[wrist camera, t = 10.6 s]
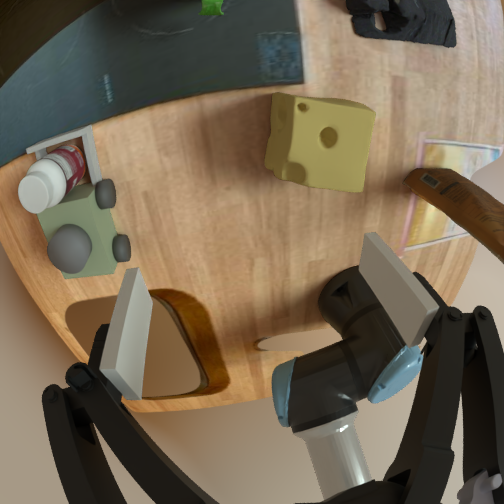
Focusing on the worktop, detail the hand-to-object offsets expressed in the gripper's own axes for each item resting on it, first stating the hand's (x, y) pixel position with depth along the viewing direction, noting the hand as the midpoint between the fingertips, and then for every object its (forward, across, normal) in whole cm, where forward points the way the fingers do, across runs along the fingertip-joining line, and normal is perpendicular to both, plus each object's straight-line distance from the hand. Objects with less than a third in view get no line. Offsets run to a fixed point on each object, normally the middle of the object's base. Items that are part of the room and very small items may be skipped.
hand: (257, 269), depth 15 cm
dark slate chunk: (+25, -29, -25) cm, 46 cm away
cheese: (+25, -11, -3) cm, 27 cm away
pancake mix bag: (+25, -37, +5) cm, 45 cm away
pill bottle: (+24, +22, -4) cm, 33 cm away
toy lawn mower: (+24, +22, +2) cm, 33 cm away
